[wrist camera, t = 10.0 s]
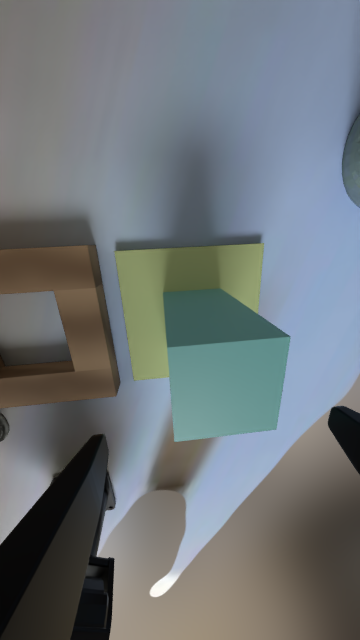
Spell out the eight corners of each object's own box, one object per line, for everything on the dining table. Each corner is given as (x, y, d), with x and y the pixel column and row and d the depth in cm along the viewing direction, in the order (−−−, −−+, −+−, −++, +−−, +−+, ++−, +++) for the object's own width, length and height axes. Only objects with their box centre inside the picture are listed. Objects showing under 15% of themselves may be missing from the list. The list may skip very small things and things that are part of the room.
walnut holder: (120, 382, 21) (116, 396, 19) (-18, 396, 20) (-36, 412, 18) (95, 245, 16) (87, 245, 14) (-85, 254, 15) (-119, 255, 13)
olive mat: (250, 365, 21) (252, 368, 21) (134, 376, 21) (134, 380, 20) (260, 243, 17) (263, 243, 17) (115, 250, 16) (114, 251, 16)
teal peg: (219, 340, 19) (276, 429, 10) (166, 345, 19) (174, 441, 10) (220, 288, 18) (290, 336, 8) (162, 292, 17) (167, 347, 8)
